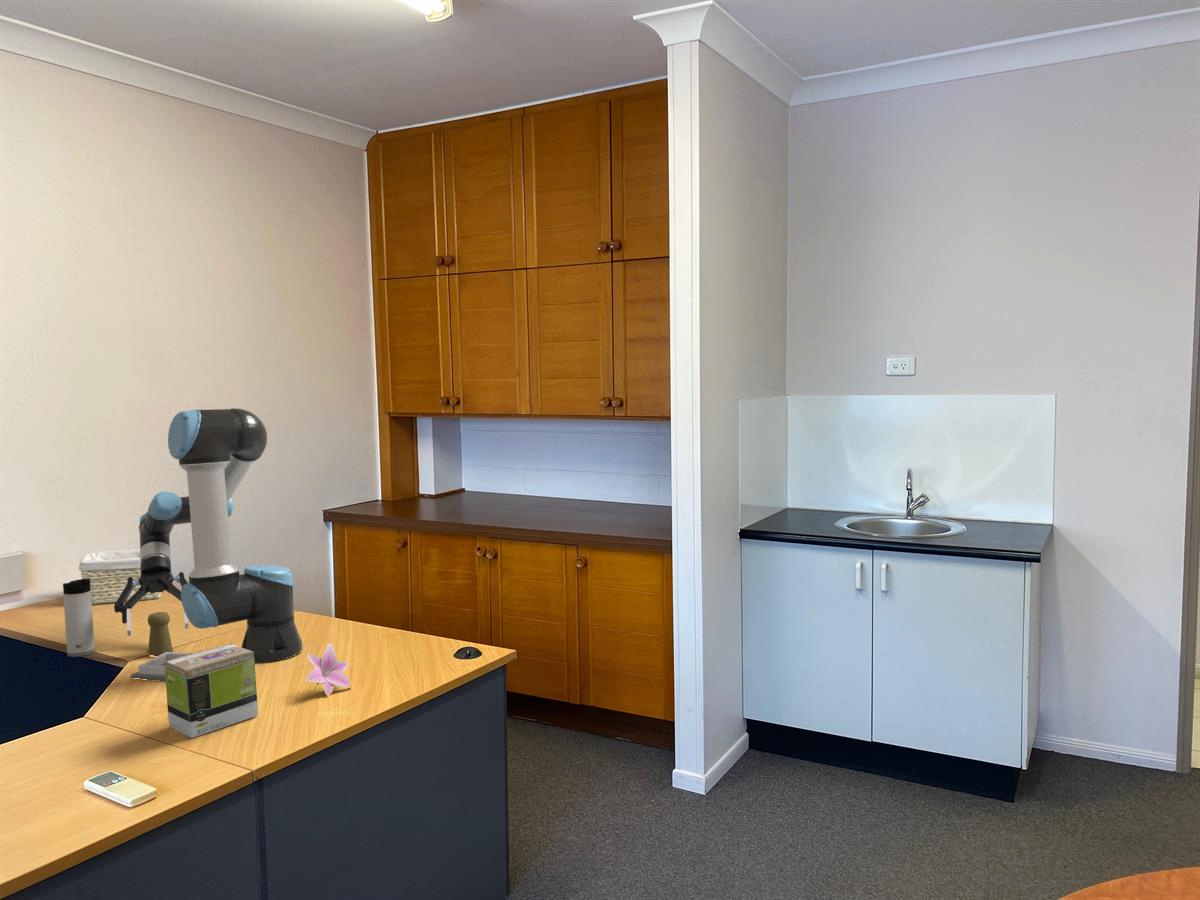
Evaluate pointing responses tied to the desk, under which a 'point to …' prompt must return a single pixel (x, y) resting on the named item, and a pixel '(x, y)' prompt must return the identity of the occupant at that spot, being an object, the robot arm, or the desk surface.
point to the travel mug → (78, 618)
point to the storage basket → (112, 574)
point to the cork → (159, 634)
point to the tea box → (211, 689)
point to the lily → (328, 670)
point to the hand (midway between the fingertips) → (158, 629)
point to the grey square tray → (156, 666)
